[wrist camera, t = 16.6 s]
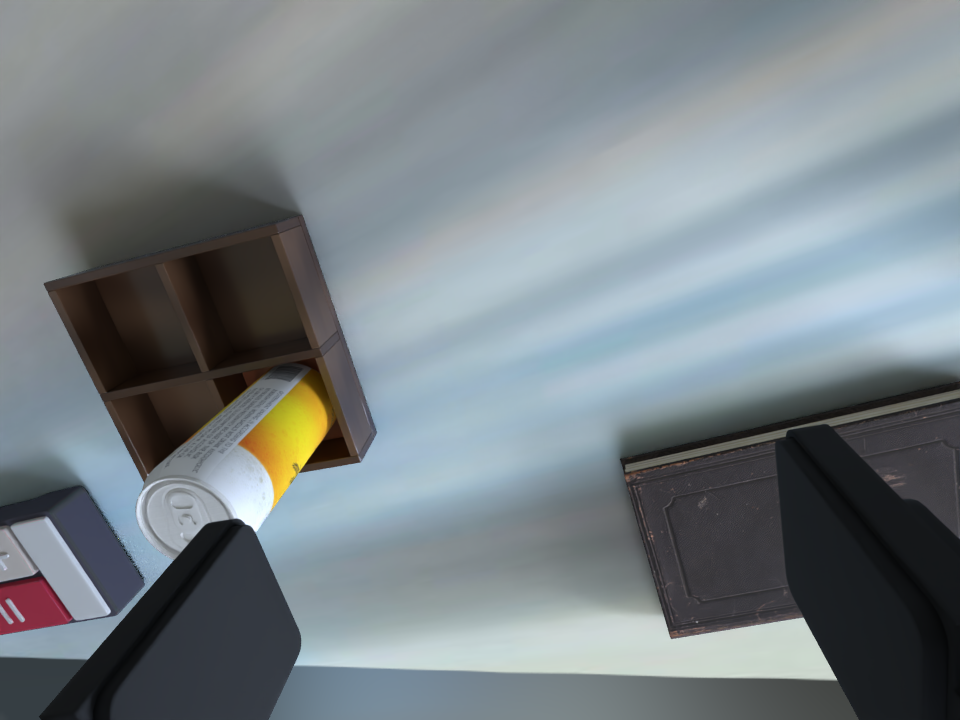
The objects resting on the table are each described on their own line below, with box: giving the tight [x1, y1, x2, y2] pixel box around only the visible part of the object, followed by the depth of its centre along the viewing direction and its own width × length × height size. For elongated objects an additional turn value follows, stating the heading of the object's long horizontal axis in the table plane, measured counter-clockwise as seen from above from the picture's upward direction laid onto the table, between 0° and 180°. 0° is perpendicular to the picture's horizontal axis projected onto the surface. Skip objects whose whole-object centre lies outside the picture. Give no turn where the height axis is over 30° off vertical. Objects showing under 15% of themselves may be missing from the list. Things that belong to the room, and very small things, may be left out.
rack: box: [44, 215, 377, 482], centre depth 41 cm, size 17×17×4 cm
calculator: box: [0, 486, 144, 635], centre depth 51 cm, size 11×4×15 cm
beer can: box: [136, 363, 337, 560], centre depth 36 cm, size 6×6×15 cm
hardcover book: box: [620, 381, 960, 639], centre depth 42 cm, size 16×23×2 cm
